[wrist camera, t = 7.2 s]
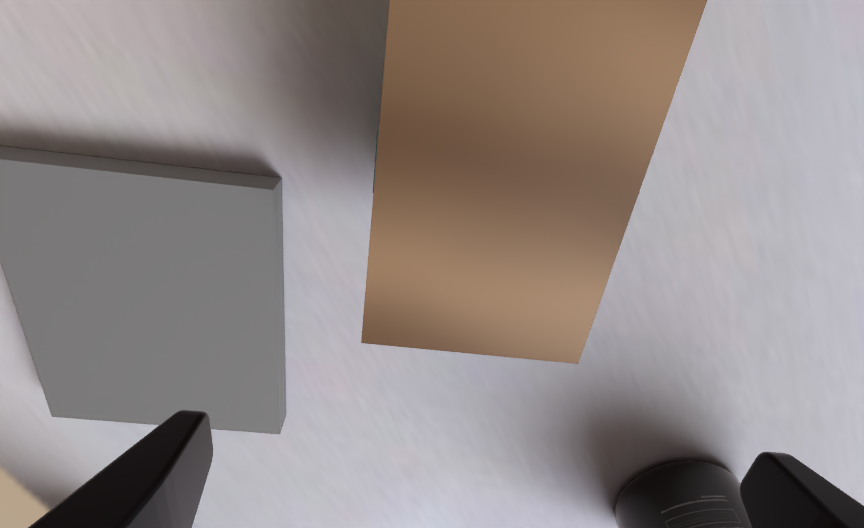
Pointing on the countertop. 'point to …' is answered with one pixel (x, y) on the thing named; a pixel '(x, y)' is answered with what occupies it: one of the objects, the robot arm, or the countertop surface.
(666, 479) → the supplement bottle
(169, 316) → the trivet
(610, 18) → the walnut board
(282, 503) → the countertop surface
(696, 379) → the countertop surface
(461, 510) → the countertop surface
